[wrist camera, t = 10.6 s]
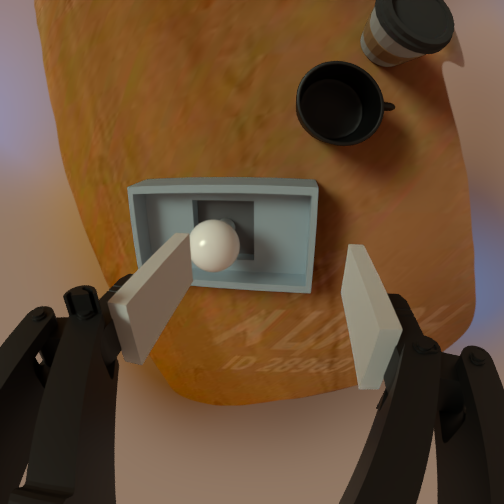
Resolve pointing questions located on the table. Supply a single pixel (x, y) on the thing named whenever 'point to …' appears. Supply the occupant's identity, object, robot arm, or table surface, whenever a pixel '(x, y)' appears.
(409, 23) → the coffee cup
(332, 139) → the mug
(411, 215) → the table surface
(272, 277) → the socket box
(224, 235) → the lightbulb
